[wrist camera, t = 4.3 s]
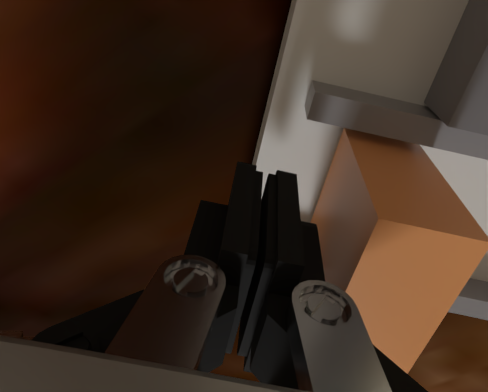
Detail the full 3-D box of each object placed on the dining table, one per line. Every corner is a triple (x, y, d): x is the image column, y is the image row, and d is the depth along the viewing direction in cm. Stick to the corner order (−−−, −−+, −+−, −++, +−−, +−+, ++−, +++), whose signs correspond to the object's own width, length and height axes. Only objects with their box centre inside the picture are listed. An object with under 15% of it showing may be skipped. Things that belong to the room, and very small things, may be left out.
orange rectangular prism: (419, 144, 13) (491, 242, 8) (368, 254, 15) (405, 376, 11) (343, 127, 13) (378, 218, 8) (303, 241, 15) (315, 358, 11)
